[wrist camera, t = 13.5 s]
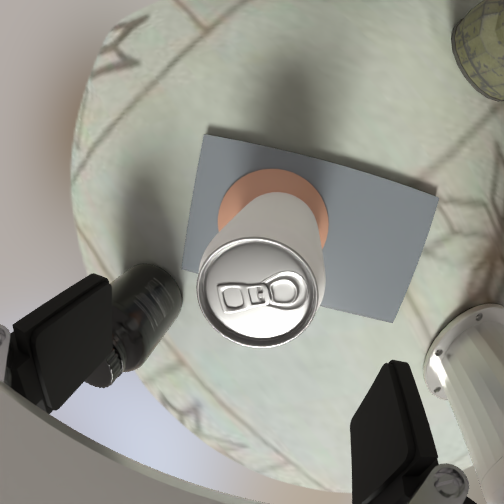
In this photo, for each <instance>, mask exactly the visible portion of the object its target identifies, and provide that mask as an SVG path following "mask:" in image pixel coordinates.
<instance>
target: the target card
mask: <svg viewBox="0 0 504 504" xmlns="http://www.w3.org/2000/svg"><path fill="white" fill-rule="evenodd" d="M271 192H283V193H288V194H291V195H294V196H296V197H298V198H299V199H301V200H302V201H303V202H305V203H306V204H307V205H308V207H309V208H310V209H311V211H312V212H313V214H314V216H315V219H316V222H317V225H318V230H319V235H320V240H321V246H322V253H323V259H324V266H325V278H326V282H325V291H324V296H323V299H322V302H321V304H320V306H322V307H327V308H331V309H335V310H339V311H343V312H347V313H352V314H356V315H360V316H364V317H369V318H373V319H377V320H382V321H386V322H391V323H393V321H394V319H395V317H396V315H397V313H398V310H399V308H400V306H401V303H402V301H403V299H404V296H405V294H406V292H407V289H408V287H409V284H410V282H411V279H412V277H413V274H414V272H415V269H416V266H417V264H418V261H419V258H420V256H421V253H422V250H423V247H424V244H425V241H426V239H427V236H428V233H429V230H430V226H431V223H432V220H433V217H434V214H435V211H436V207H437V204H438V200H439V198H438V197H436V196H433V195H431V194H428V193H425V192H423V191H420V190H417V189H414V188H411V187H409V186H406V185H403V184H400V183H397V182H394V181H391V180H388V179H385V178H382V177H379V176H375V175H372V174H369V173H366V172H363V171H359V170H356V169H353V168H349V167H346V166H342V165H339V164H335V163H332V162H328V161H324V160H321V159H317V158H313V157H309V156H305V155H301V154H297V153H293V152H289V151H285V150H281V149H276V148H272V147H267V146H263V145H258V144H254V143H249V142H244V141H239V140H234V139H229V138H223V137H218V136H212V135H206V134H204V138H203V143H202V148H201V153H200V158H199V163H198V169H197V174H196V179H195V185H194V191H193V197H192V203H191V209H190V215H189V221H188V227H187V234H186V241H185V247H184V254H183V262H182V269H183V270H187V271H190V272H194V273H197V274H199V267H200V262H201V259H202V256H203V254H204V252H205V250H206V248H207V246H208V245H209V243H210V242H211V241H212V239H213V238H214V237H215V236H216V235H217V234H218V233H219V232H220V231H221V230H222V229H223V228H224V227H225V226H226V225H227V224H228V223H229V222H230V221H231V220H232V219H233V218H234V217H235V216H236V215H237V214H238V213H239V212H240V211H241V210H242V209H243V208H244V207H245V206H246V205H247V204H248V203H250V202H251V201H252V200H253V199H255V198H256V197H258V196H260V195H263V194H266V193H271Z"/></svg>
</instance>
